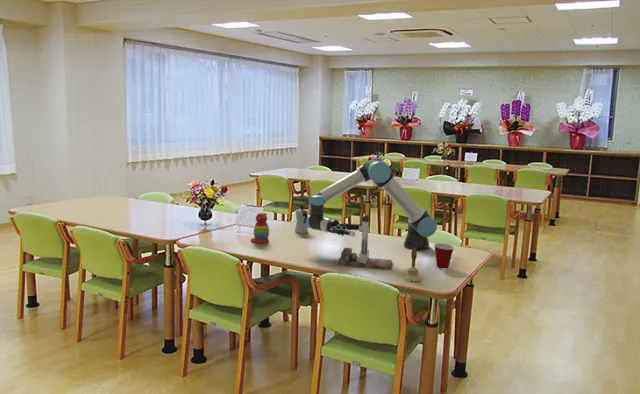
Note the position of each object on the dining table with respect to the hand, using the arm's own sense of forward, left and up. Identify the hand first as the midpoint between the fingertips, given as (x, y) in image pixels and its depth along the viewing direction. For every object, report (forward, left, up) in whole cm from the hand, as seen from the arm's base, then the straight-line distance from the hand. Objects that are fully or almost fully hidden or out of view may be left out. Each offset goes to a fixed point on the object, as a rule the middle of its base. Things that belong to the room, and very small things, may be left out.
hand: (362, 231), depth 288 cm
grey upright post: (-2, 0, -15) cm, 16 cm away
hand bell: (-28, +20, -17) cm, 39 cm away
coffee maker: (+47, -61, -17) cm, 79 cm away
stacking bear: (+65, -29, -17) cm, 73 cm away
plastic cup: (-43, -6, -17) cm, 47 cm away
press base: (-2, 0, -17) cm, 17 cm away
